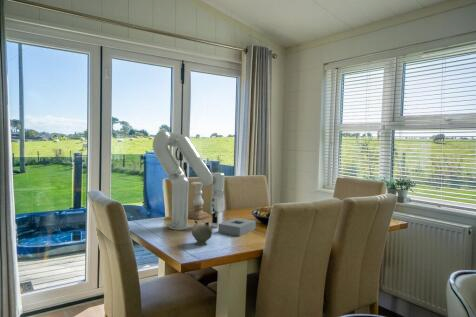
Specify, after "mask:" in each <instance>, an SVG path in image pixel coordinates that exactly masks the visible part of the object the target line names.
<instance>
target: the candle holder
mask: <svg viewBox="0 0 476 317" xmlns="http://www.w3.org/2000/svg"><path fill="white" fill-rule="evenodd" d="M190 184H191V185H192V186H194V187H195V191H194V193H195V197H194V198H193V200H192V204H193V205H194V206H193V210H192V211H191V212H188V219H191V220H195V221H201V220H205V219H208V218H210V214H208V212H206V211H204V210H203V209H204V208H203V205H204V199H203V197H202V194H203V190H202V188H203V186H205V185H204V184H202V183H201V182H200V181H192V182H191V183H190Z"/></svg>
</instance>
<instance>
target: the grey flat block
mask: <svg viewBox="0 0 476 317" xmlns="http://www.w3.org/2000/svg"><path fill="white" fill-rule="evenodd" d="M256 223H257V221H256V220H253V219H252V220H251V219H246V218H239V217H234V218H232V219H228V220H226V221H222V223H220V224H219V228H217V229H218V233H220V234H224V235H231V236H235V237H241V236H243V235H245V234H247V233H250V232H252V231H255V230H256Z"/></svg>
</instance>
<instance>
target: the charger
mask: <svg viewBox="0 0 476 317" xmlns="http://www.w3.org/2000/svg"><path fill="white" fill-rule="evenodd" d="M214 211H215V210H214ZM215 212H216V211H215ZM215 212H214V213H215ZM216 217H217V223H212V222H211V228H217V229H218V228H219V224H220V223H222V222H223V212H222V211H220V212H217V216H216Z"/></svg>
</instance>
